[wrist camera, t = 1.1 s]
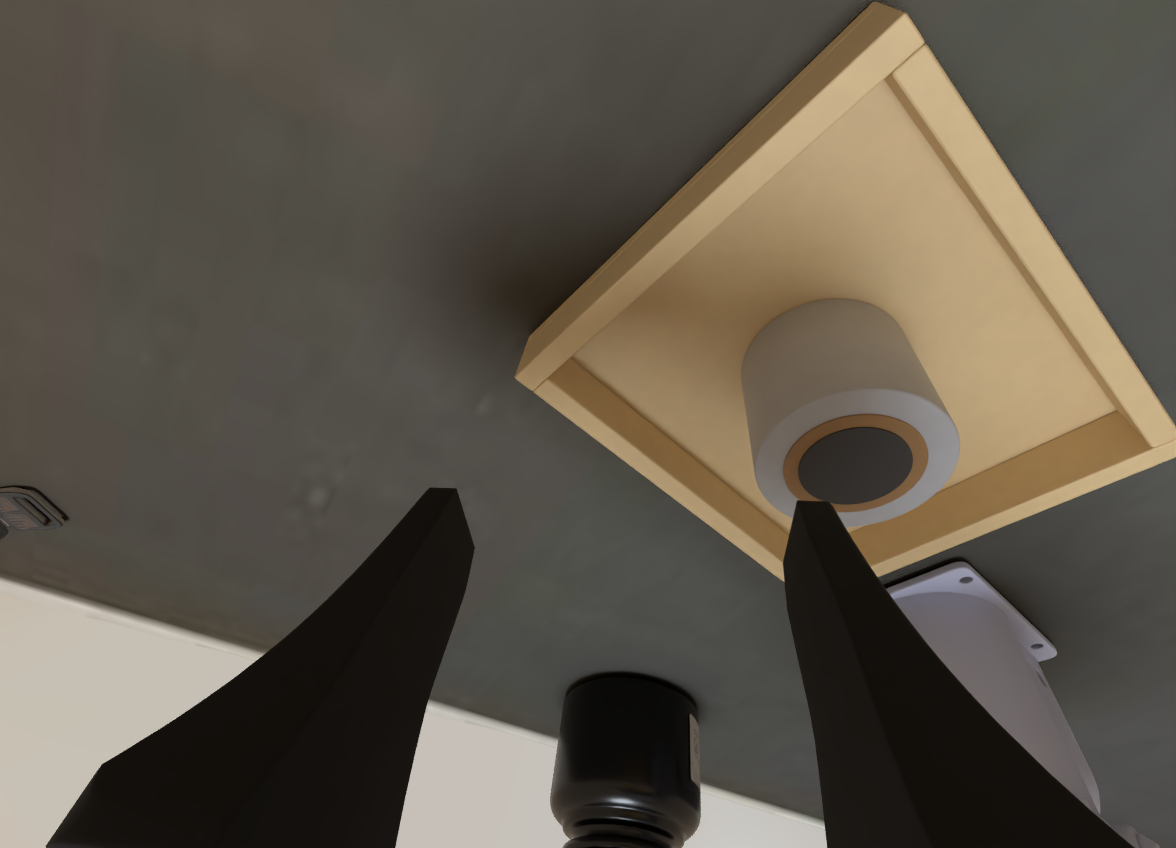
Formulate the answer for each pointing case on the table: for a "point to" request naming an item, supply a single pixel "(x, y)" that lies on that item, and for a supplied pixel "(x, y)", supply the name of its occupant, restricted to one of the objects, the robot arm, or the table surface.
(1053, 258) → the tray
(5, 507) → the strap clip
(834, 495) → the tape roll
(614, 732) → the ink bottle
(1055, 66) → the table surface
